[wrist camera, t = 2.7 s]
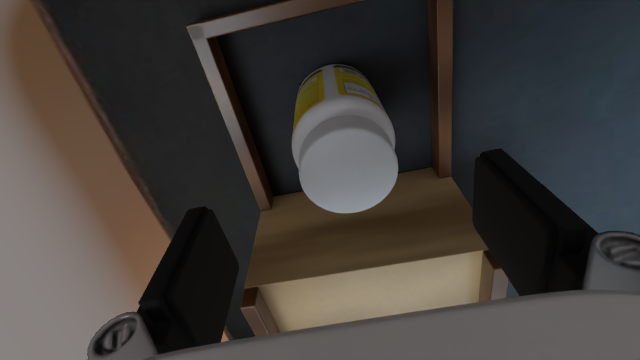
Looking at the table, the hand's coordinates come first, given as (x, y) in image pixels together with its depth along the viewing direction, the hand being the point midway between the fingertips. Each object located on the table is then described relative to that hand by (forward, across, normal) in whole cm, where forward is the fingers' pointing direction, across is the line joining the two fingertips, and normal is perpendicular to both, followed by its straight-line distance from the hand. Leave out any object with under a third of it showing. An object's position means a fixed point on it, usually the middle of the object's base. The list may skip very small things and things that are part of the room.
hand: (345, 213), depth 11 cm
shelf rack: (+10, 0, +5) cm, 12 cm away
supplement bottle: (+10, 0, -1) cm, 10 cm away
